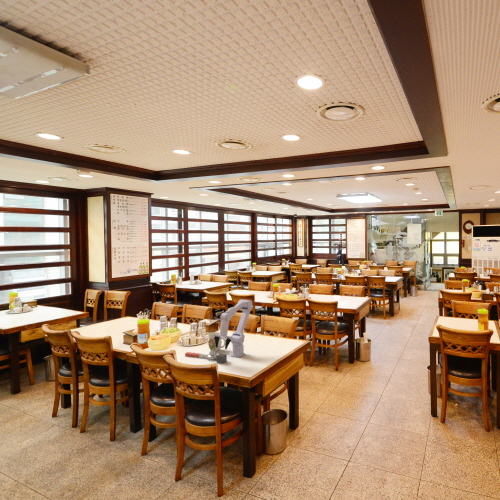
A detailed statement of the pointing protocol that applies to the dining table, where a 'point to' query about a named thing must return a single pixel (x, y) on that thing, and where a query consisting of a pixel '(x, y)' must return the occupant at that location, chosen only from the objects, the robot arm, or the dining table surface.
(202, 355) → the ratchet
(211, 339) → the pitcher
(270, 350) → the dining table surface
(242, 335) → the robot arm
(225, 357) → the socket
